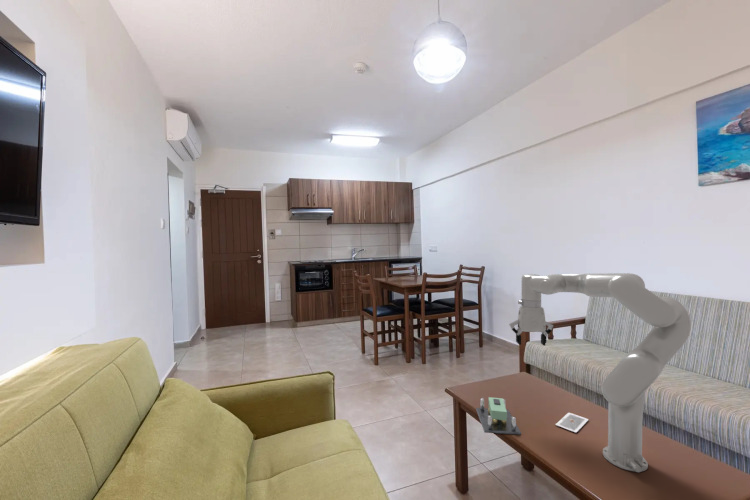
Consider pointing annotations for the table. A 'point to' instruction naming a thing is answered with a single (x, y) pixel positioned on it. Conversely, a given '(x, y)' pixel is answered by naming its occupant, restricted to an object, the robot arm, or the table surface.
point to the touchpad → (572, 422)
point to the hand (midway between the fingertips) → (531, 344)
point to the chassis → (496, 421)
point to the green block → (497, 408)
